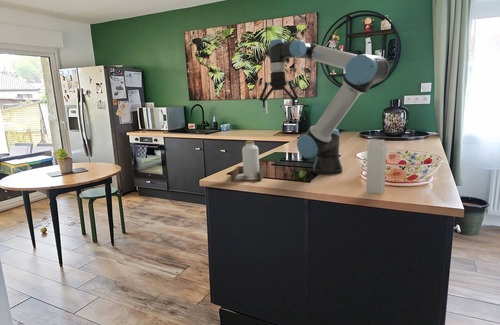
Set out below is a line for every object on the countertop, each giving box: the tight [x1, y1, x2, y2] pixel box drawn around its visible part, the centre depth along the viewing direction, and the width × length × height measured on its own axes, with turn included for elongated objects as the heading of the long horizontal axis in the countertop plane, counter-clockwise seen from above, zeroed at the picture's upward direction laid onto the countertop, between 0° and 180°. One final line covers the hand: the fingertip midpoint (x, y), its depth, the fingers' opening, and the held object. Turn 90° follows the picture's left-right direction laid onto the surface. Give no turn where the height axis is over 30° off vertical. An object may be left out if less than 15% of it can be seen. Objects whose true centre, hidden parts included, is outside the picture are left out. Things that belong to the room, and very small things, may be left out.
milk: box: [365, 138, 387, 195], centre depth 130 cm, size 6×6×22 cm
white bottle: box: [241, 140, 260, 177], centre depth 161 cm, size 8×8×18 cm
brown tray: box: [230, 165, 266, 183], centre depth 163 cm, size 15×14×4 cm
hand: (279, 113), depth 167 cm, fingers open, 13 cm apart
